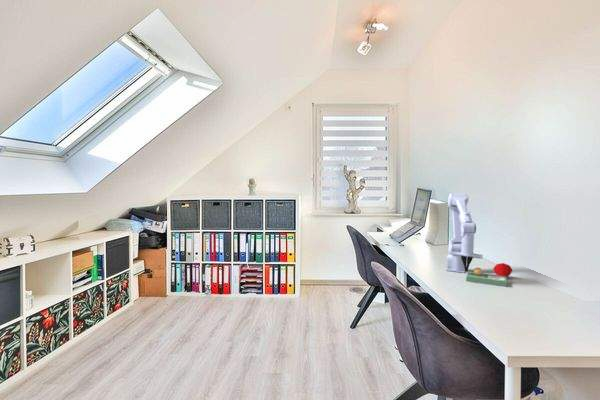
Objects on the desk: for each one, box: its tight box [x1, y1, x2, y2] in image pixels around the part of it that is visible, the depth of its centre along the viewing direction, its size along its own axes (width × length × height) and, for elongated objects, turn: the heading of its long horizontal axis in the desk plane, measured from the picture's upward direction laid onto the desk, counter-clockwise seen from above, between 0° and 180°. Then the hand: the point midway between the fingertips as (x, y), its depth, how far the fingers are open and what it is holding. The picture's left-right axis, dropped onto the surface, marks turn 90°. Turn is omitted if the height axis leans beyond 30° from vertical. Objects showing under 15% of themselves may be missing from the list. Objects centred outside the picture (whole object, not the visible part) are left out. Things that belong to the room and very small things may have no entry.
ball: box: [473, 267, 483, 275], centre depth 189 cm, size 4×4×4 cm
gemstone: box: [493, 262, 513, 279], centre depth 193 cm, size 9×9×10 cm
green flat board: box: [465, 271, 508, 288], centre depth 187 cm, size 18×11×2 cm, turn 62°
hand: (466, 270), depth 191 cm, fingers closed
